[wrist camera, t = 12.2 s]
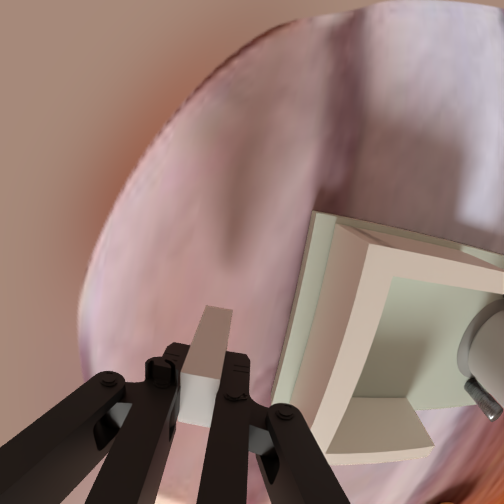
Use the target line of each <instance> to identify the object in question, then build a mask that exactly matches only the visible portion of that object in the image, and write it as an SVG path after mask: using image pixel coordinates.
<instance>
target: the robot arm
mask: <svg viewBox="0 0 504 504" xmlns="http://www.w3.org/2000/svg"><path fill="white" fill-rule="evenodd" d="M232 312H233V310H230V309H224V308H218V307H213V306H207V305H206V307H205V310H204V312H203V315H202V318H201V320H200V323H199V325H198V328H197V330H196V333H195V336H194V338H193V341H192V343H191V345H186V344H181V343H176V342H173V343H172V344H170V345H169V346H167V348H166V350H165V352H164V354H163V356H162V357H153V358H150V359H148V360H147V361H146V362H145V381H143V382H136V383H133V382H125V379H124V377H123V376H122V375H120V374H119V373H116V372H113V371H104V372H100V373H98V374H96V375H95V376H93V377H92V378H91V379H89V380H88V381H87V382H86V383H84V384H83V385H82V386H80V387H79V388H78V389H76V390H75V391H74V392H72V393H71V394H70V395H69V396H67V397H66V398H65V399H63V400H62V401H61V402H60V403H58V404H57V405H56V406H54V407H53V408H52V409H50V410H49V411H48V412H46V413H45V414H44V415H42V416H41V417H40V418H38V419H37V420H36V421H35V422H33V423H32V424H31V425H29V426H28V427H27V428H25V429H24V430H23V431H21V432H20V433H19V434H17V435H16V436H15V437H13V438H12V439H11V440H10V441H8V442H7V443H6V444H4V445H3V446H2V447H0V504H60V503H61V502H62V501H63V500H64V499H65V498H66V497H67V496H68V495H69V494H70V493H71V491H73V489H74V488H75V487H76V486H77V485H78V484H79V483H80V482H81V481H82V480H83V479H84V478H85V477H86V476H87V475H88V474H89V473H90V472H91V470H92V469H93V468H94V467H95V466H96V465H97V464H98V463H99V462H100V461H101V460H102V459H103V458H104V456H105V455H106V454H107V453H108V452H109V453H108V455H107V457H106V459H105V461H104V463H103V465H102V467H101V469H100V471H99V474H98V476H97V478H96V480H95V482H94V484H93V486H92V489H91V491H90V493H89V495H88V497H87V499H86V501H85V504H154V503H155V500H156V496H157V493H158V489H159V486H160V482H161V479H162V475H163V472H164V468H165V465H166V461H167V458H168V455H169V451H170V448H171V444H172V441H173V438H174V434H175V431H176V421H177V417H178V421H179V422H183V423H188V424H193V425H199V426H204V427H210V431H209V437H208V442H207V448H206V453H205V459H204V464H203V470H202V475H201V481H200V486H199V492H198V498H197V503H196V504H246V499H247V474H248V451H250V452H253V453H255V454H256V459H257V462H258V465H259V468H260V471H261V474H262V477H263V480H264V483H265V486H266V489H267V492H268V495H269V498H270V501H271V504H350V502H349V500H348V498H347V496H346V495H345V493H344V491H343V489H342V487H341V486H340V484H339V482H338V480H337V478H336V477H335V475H334V473H333V471H332V469H331V467H330V466H329V464H328V462H327V460H326V458H325V456H324V455H323V453H322V451H321V449H320V447H319V445H318V443H317V442H316V440H315V438H314V436H313V434H312V432H311V430H310V428H309V426H308V425H307V423H306V421H305V419H304V417H303V415H302V413H301V412H300V410H299V409H298V408H296V407H295V406H293V405H290V404H287V403H277V404H273V405H272V406H270V407H269V408H267V407H264V406H262V405H259V404H257V403H256V402H254V401H253V400H252V399H251V397H250V395H249V380H250V359H249V358H248V356H247V355H246V354H241V353H235V352H229V351H226V350H227V344H228V337H229V331H230V325H231V318H232Z"/></svg>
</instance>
